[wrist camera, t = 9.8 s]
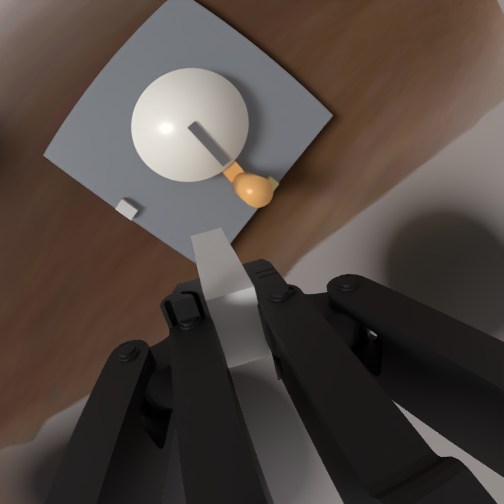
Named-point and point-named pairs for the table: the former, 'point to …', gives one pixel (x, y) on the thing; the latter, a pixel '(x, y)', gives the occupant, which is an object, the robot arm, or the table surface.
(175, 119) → the dial
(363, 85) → the table surface
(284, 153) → the panel
